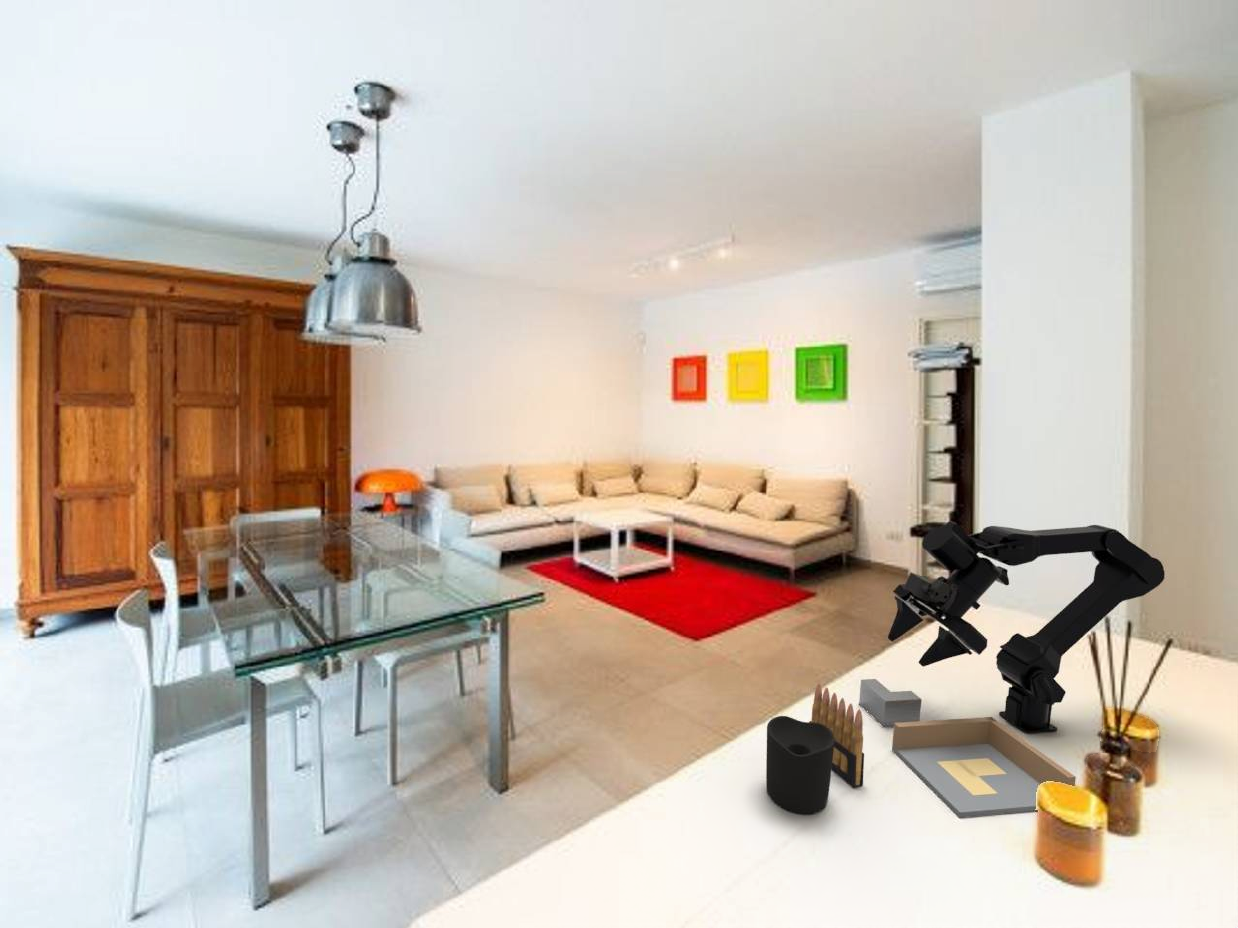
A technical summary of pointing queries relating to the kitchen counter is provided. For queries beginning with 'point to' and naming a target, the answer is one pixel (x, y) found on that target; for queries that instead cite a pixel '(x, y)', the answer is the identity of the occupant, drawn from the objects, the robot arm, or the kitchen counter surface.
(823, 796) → the pen holder
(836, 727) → the ammunition clip
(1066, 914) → the kitchen counter surface
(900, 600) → the robot arm
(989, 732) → the arena
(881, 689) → the angle bracket
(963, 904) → the kitchen counter surface
